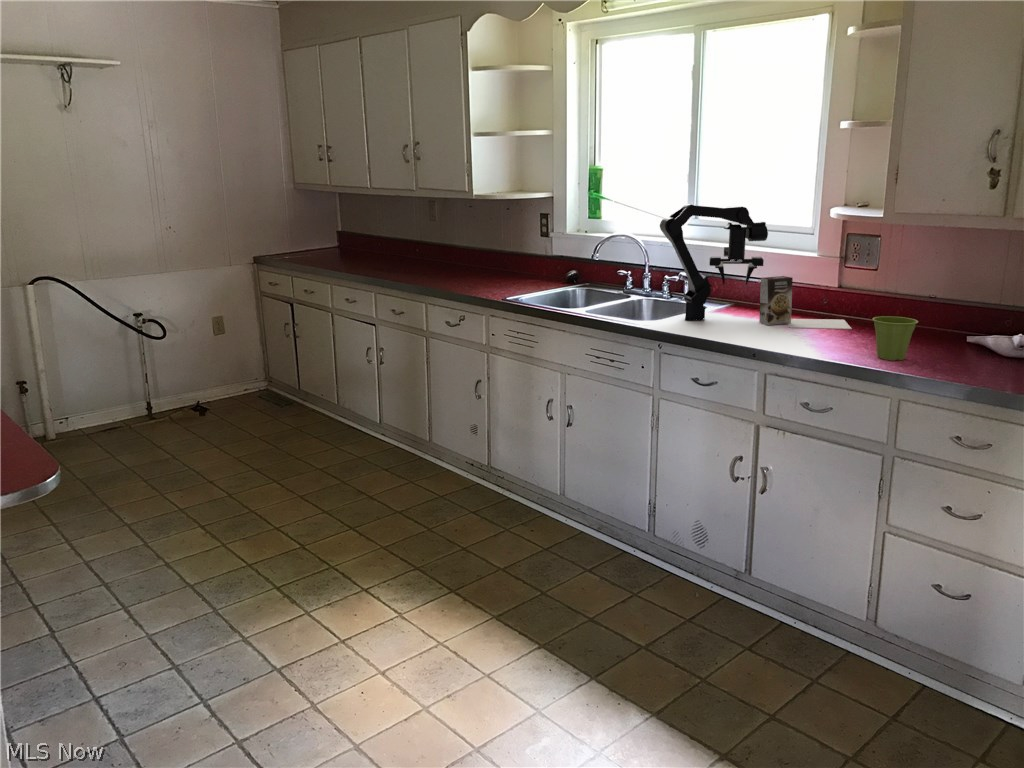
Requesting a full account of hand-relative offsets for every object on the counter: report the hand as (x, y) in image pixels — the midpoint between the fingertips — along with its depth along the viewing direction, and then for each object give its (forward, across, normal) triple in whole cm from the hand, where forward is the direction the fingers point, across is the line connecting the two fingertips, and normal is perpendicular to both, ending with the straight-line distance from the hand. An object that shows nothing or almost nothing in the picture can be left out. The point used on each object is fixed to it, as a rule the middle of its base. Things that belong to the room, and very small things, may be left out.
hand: (734, 285), depth 296 cm
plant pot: (+12, -42, +60) cm, 74 cm away
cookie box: (+12, -14, +10) cm, 21 cm away
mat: (+12, -28, +10) cm, 32 cm away
